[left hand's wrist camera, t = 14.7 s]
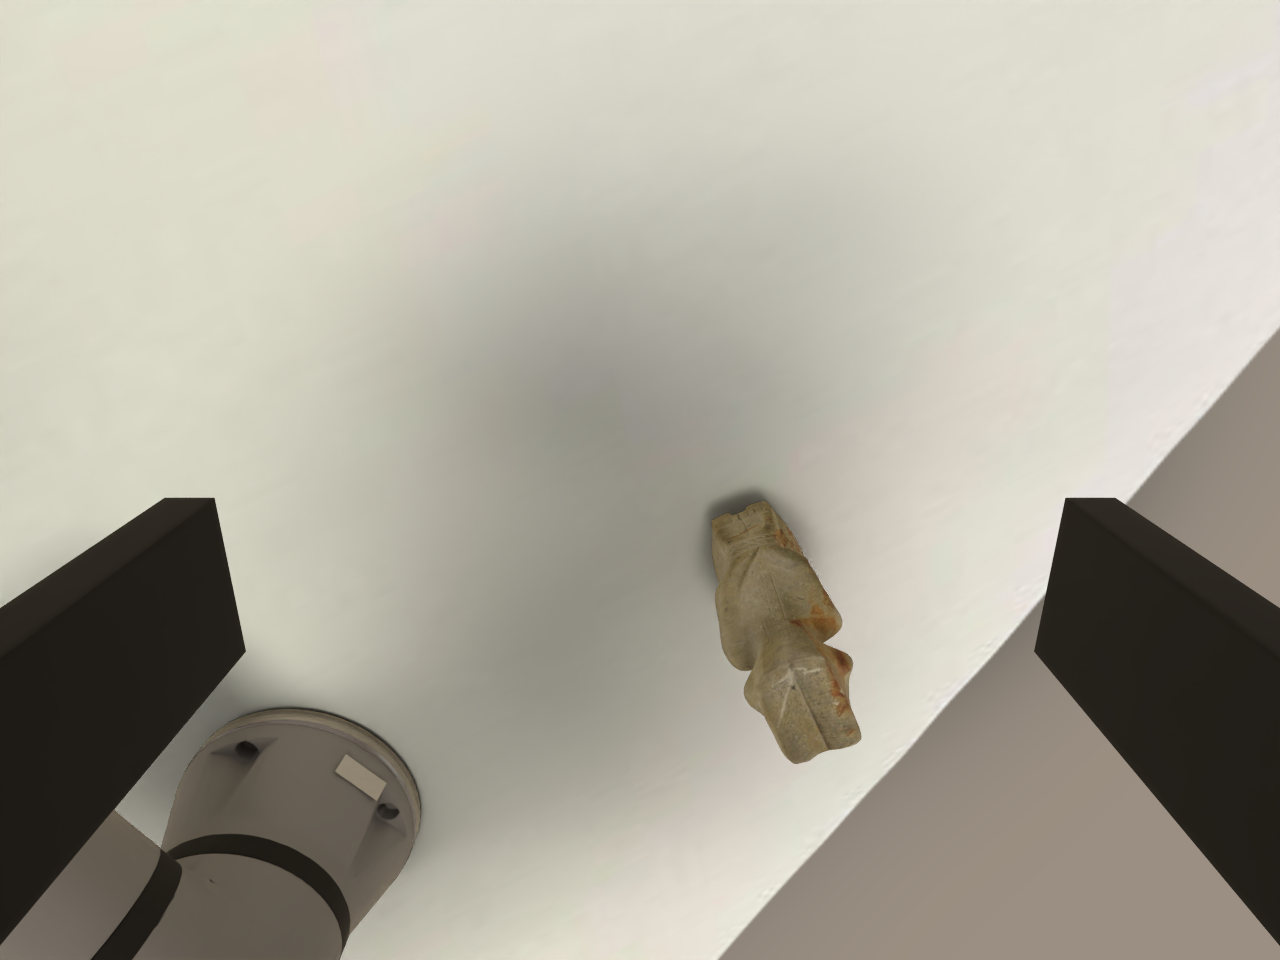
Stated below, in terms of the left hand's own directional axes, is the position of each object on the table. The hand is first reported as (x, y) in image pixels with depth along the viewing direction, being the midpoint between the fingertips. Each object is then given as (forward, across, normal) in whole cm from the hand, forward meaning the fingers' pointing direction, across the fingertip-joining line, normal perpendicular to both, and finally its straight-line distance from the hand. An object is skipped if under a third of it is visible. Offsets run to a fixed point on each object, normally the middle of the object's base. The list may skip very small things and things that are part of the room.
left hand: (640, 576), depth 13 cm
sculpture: (+31, -7, +14) cm, 35 cm away
